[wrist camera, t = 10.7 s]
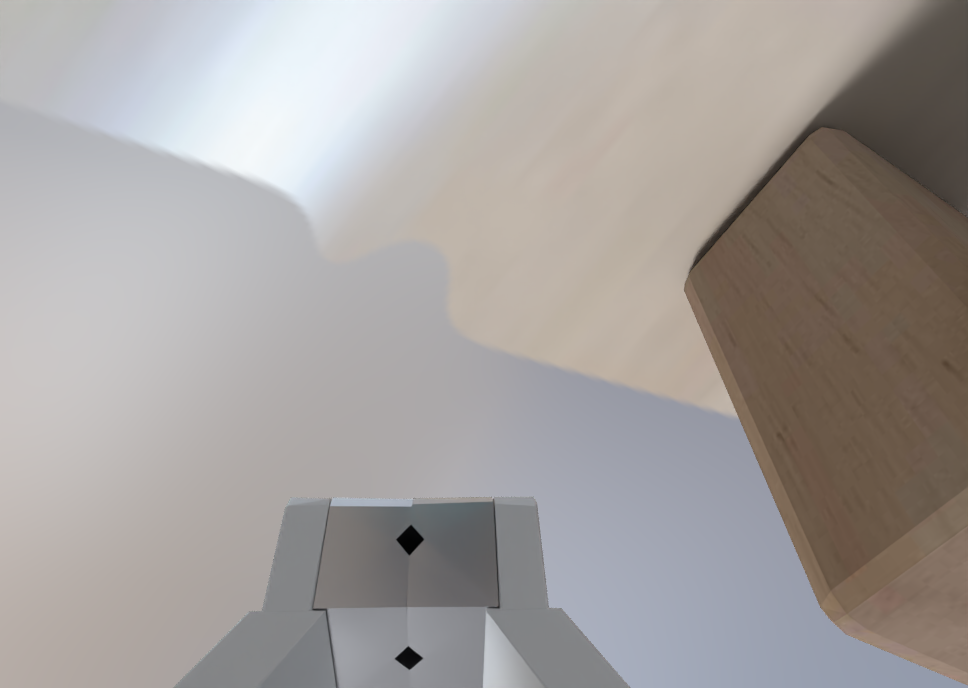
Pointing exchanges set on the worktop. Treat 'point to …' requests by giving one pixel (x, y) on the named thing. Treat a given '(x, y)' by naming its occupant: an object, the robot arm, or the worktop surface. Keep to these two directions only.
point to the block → (855, 386)
